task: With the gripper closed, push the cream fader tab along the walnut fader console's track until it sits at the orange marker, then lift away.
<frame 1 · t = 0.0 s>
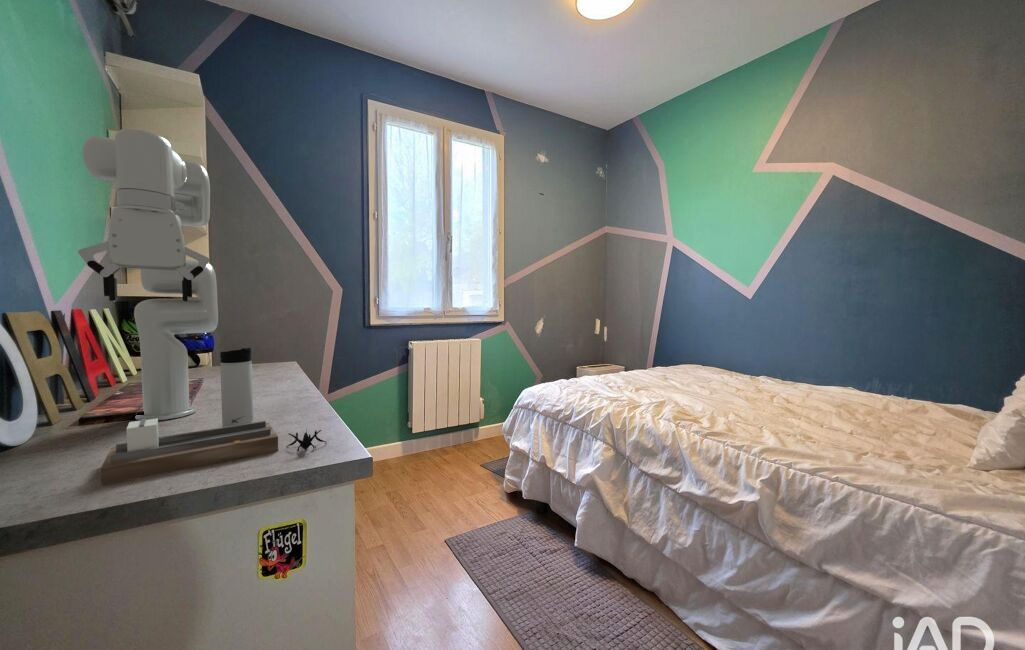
hand: (150, 300, 72), 31 cm above the cabinet, tool pointing down, fingers open, 9 cm apart
fader tab: (143, 435, 74), point 6 cm above the cabinet, slide at 0.0 cm
fader console: (198, 456, 80), on the cabinet
travel mug: (238, 429, 97), on the cabinet
creature: (306, 449, 85), on the cabinet
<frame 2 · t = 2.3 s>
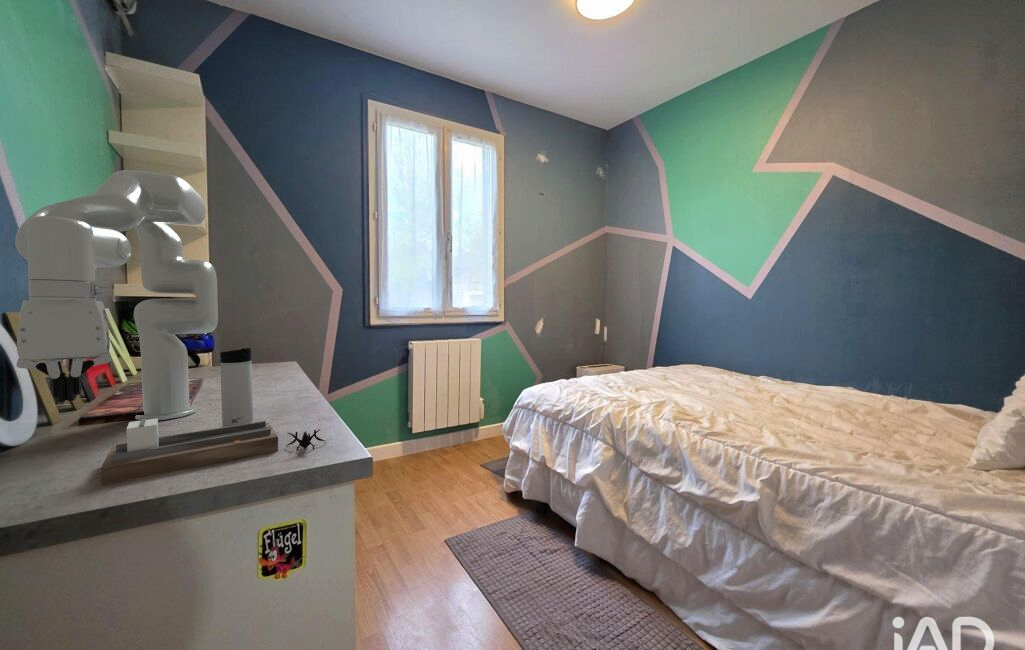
hand: (68, 399, 68), 14 cm above the cabinet, tool pointing down, fingers closed
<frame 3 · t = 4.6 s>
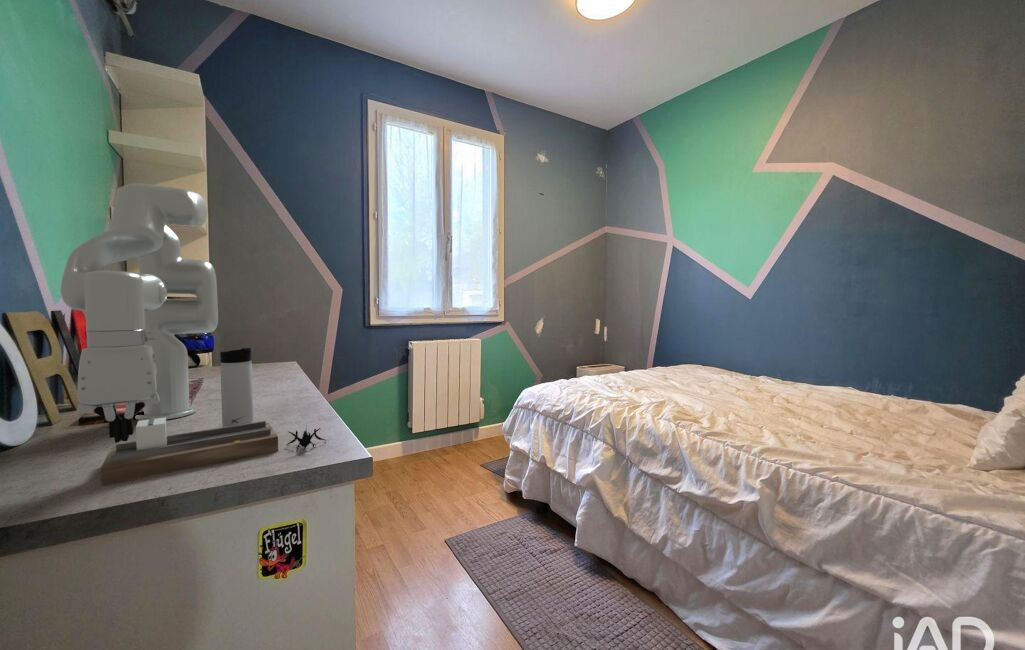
hand: (122, 439, 73), 6 cm above the cabinet, tool pointing down, fingers closed
fader tab: (152, 434, 75), point 6 cm above the cabinet, slide at 1.2 cm, touching gripper
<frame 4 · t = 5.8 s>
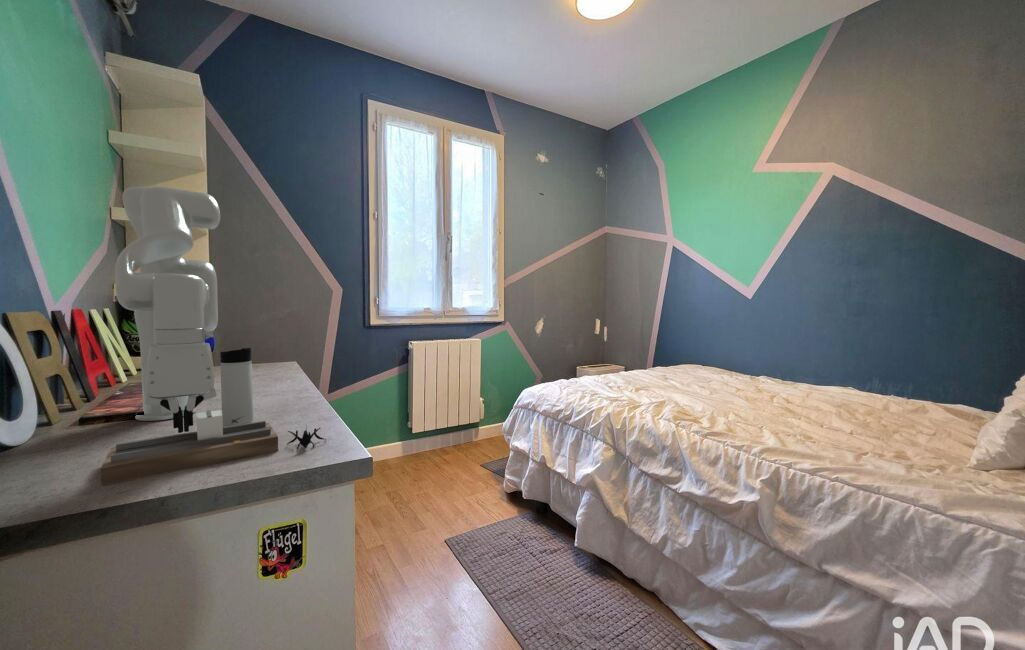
hand: (183, 430, 78), 6 cm above the cabinet, tool pointing down, fingers closed
fader tab: (209, 425, 81), point 6 cm above the cabinet, slide at 9.9 cm, touching gripper
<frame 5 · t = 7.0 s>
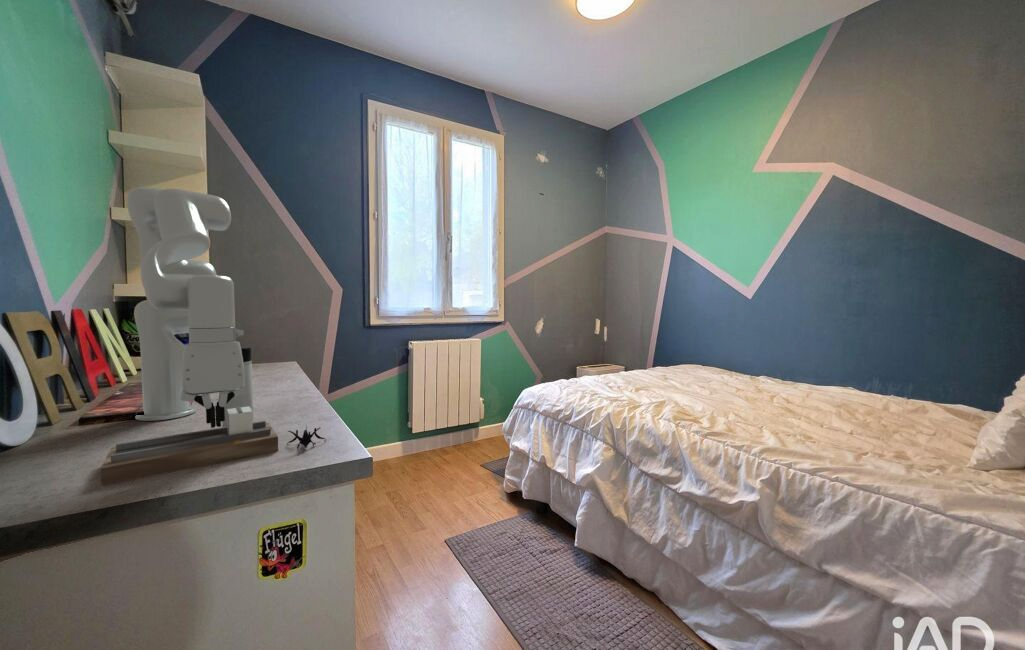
hand: (215, 425, 81), 6 cm above the cabinet, tool pointing down, fingers closed
fader tab: (239, 421, 84), point 6 cm above the cabinet, slide at 15.0 cm, touching gripper
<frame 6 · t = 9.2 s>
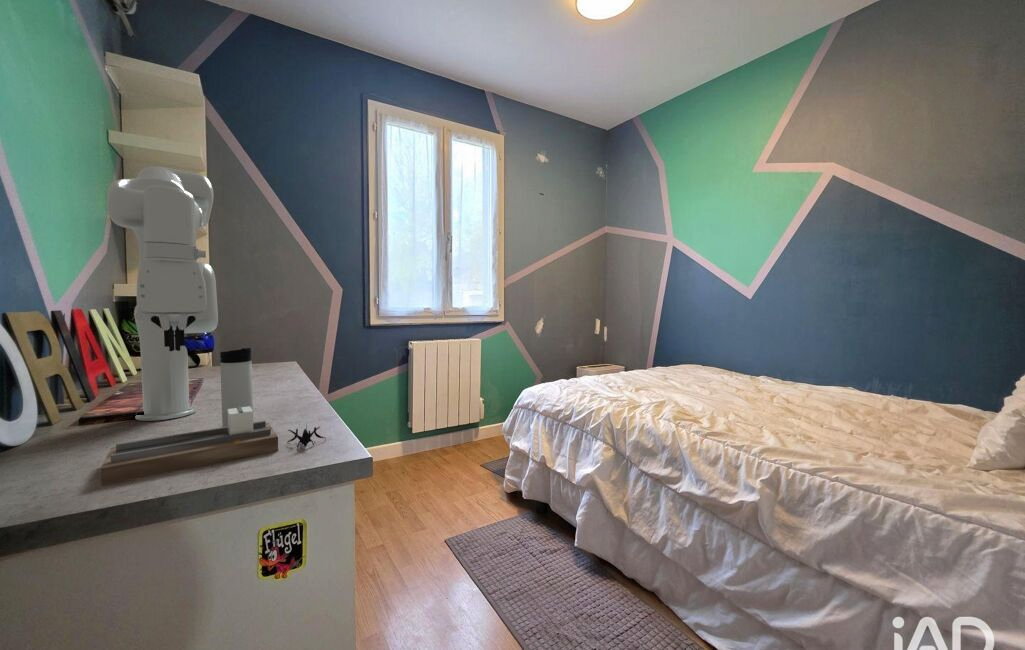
hand: (175, 350, 77), 22 cm above the cabinet, tool pointing down, fingers closed
fader tab: (240, 421, 84), point 6 cm above the cabinet, slide at 15.1 cm
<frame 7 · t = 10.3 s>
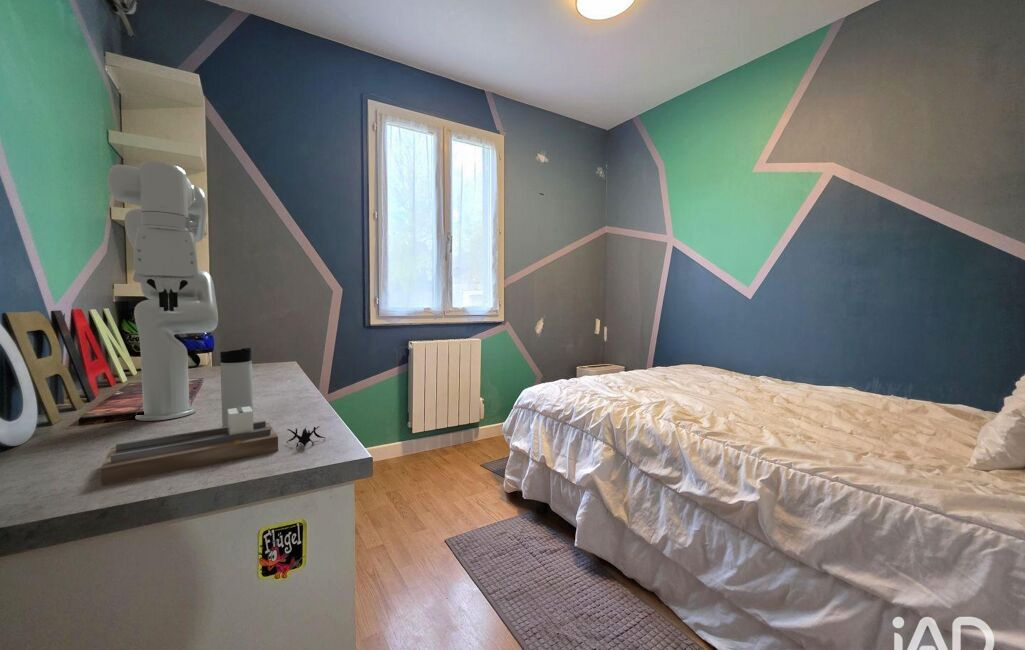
hand: (168, 310, 85), 29 cm above the cabinet, tool pointing down, fingers closed
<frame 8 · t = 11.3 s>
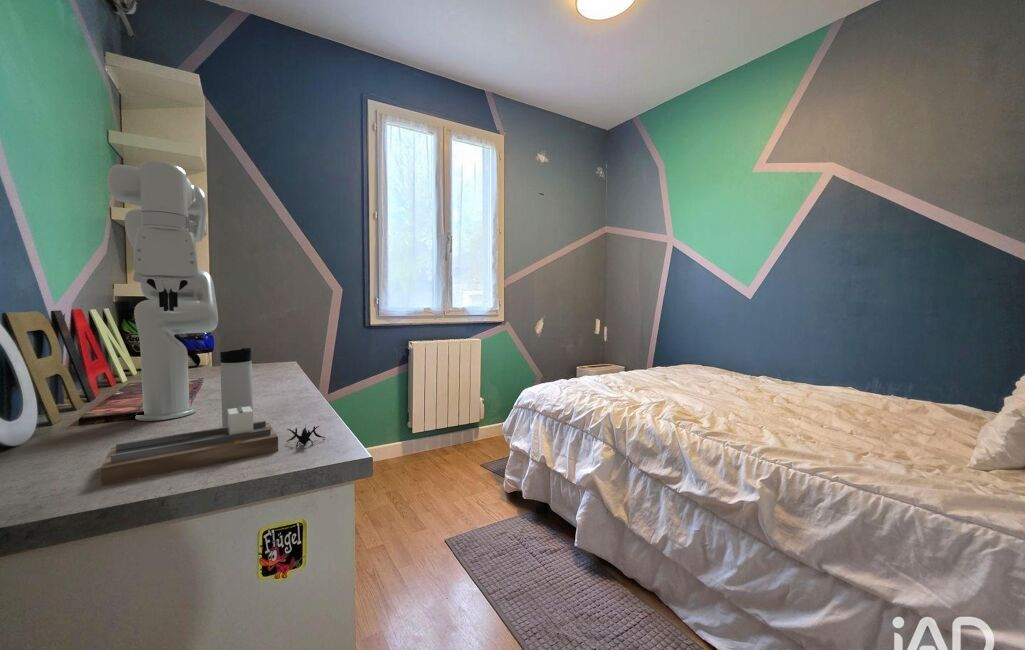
hand: (168, 310, 85), 29 cm above the cabinet, tool pointing down, fingers closed
at the end: fader tab slide at 15.1 cm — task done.
